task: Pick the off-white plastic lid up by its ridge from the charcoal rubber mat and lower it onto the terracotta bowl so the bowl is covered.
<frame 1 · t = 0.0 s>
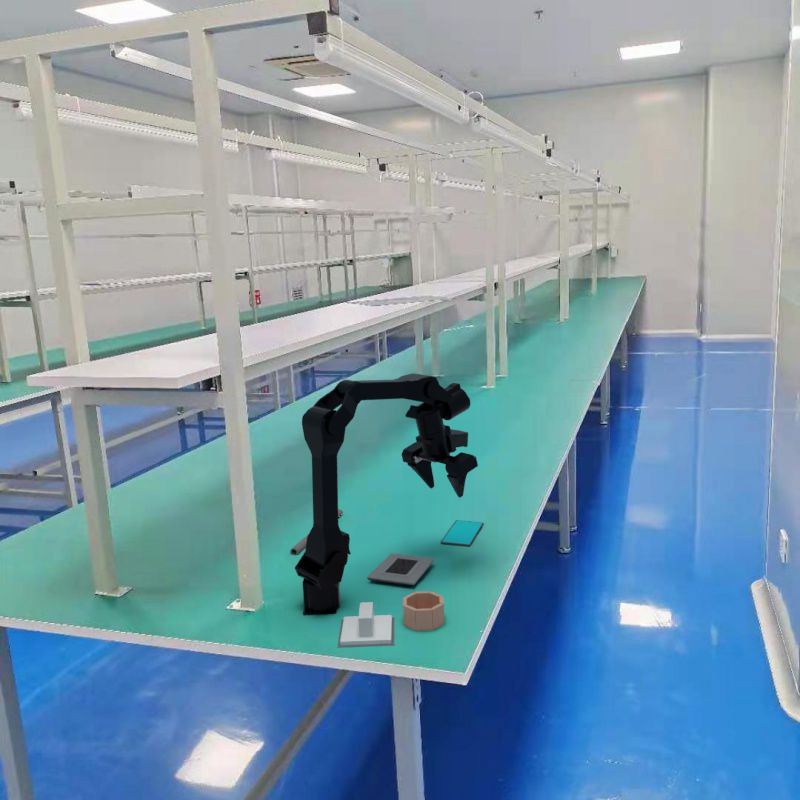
hand: (446, 492, 161), 15 cm above the table, tool pointing down, fingers open, 9 cm apart
electrical outlet: (402, 577, 156), on the table
lid: (367, 631, 132), resting on mat
metal rod: (318, 535, 182), on the table
bowl: (423, 623, 136), on the table
mat: (367, 633, 132), on the table
smartphone: (463, 536, 178), on the table
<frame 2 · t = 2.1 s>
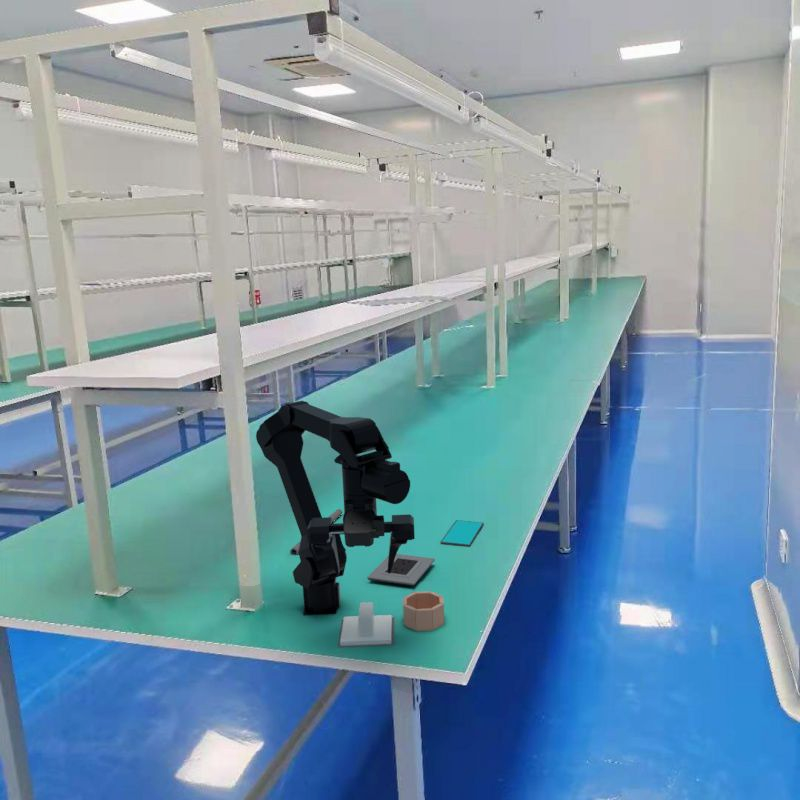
hand: (363, 573, 130), 12 cm above the table, tool pointing down, fingers open, 9 cm apart
nothing on the table moved.
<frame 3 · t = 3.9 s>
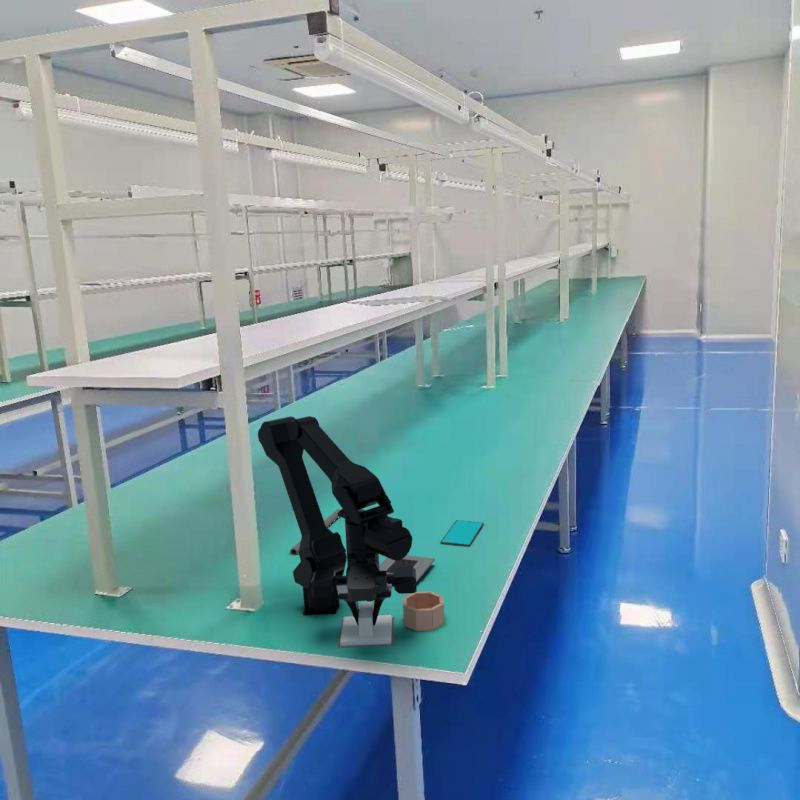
hand: (366, 624, 132), 2 cm above the table, tool pointing down, fingers closed on lid, 2 cm apart
lid: (367, 631, 132), resting on mat, touching gripper
everything else where it was.
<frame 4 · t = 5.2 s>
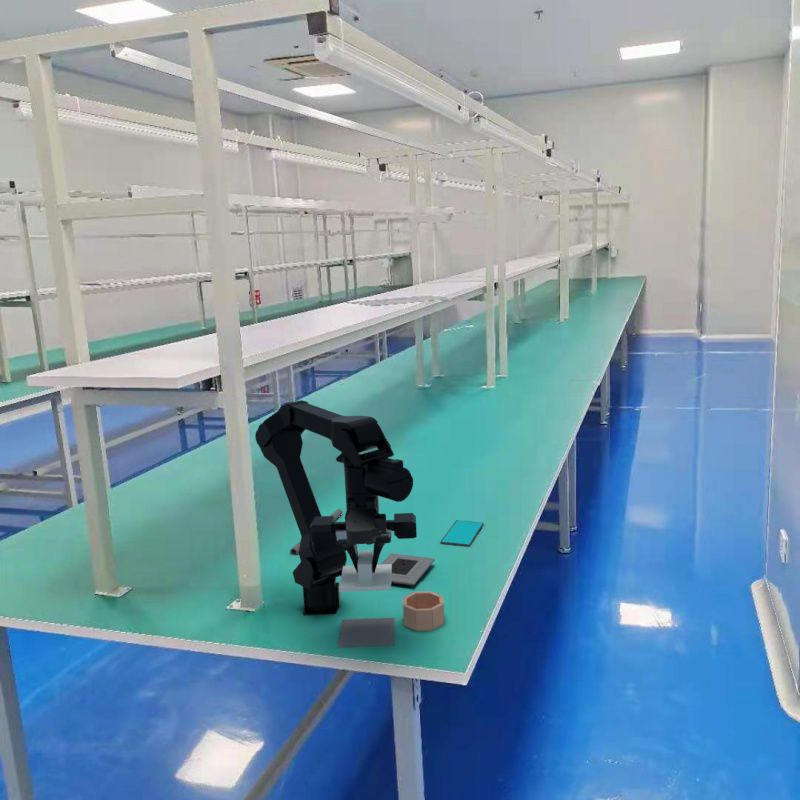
hand: (366, 572, 130), 12 cm above the table, tool pointing down, fingers closed on lid, 2 cm apart
lid: (366, 579, 130), point 11 cm above the table, touching gripper
everything else where it was.
when the fingers open (7 cm above the table, at t = 6.9 s): lid drops 1 cm, resting on bowl.
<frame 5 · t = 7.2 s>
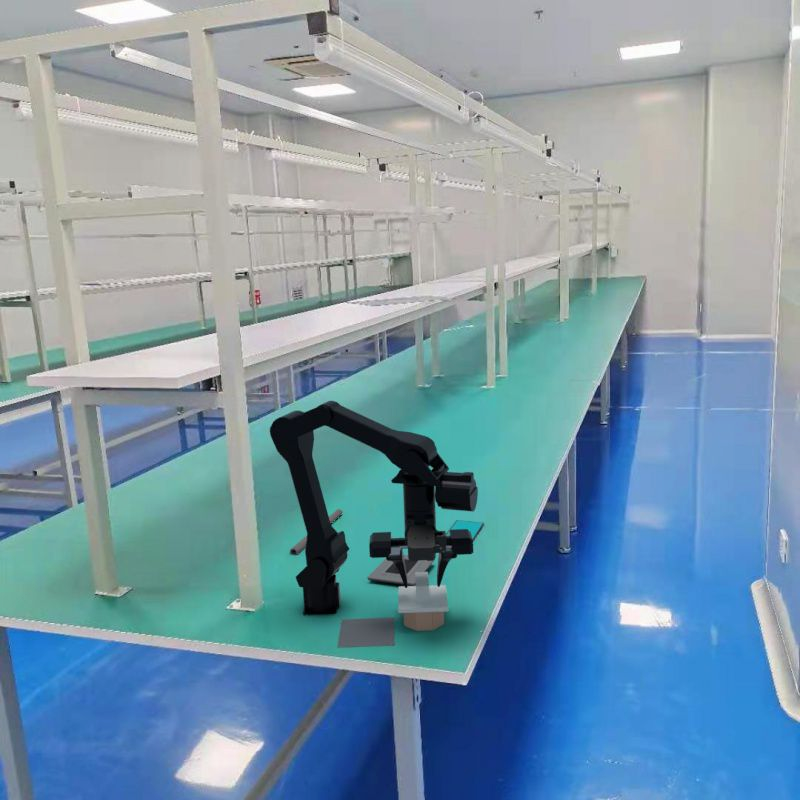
hand: (422, 586, 134), 7 cm above the table, tool pointing down, fingers open, 6 cm apart
lid: (422, 600, 135), point 4 cm above the table, touching bowl
bowl: (423, 622, 136), on the table, touching lid
everything else where it was.
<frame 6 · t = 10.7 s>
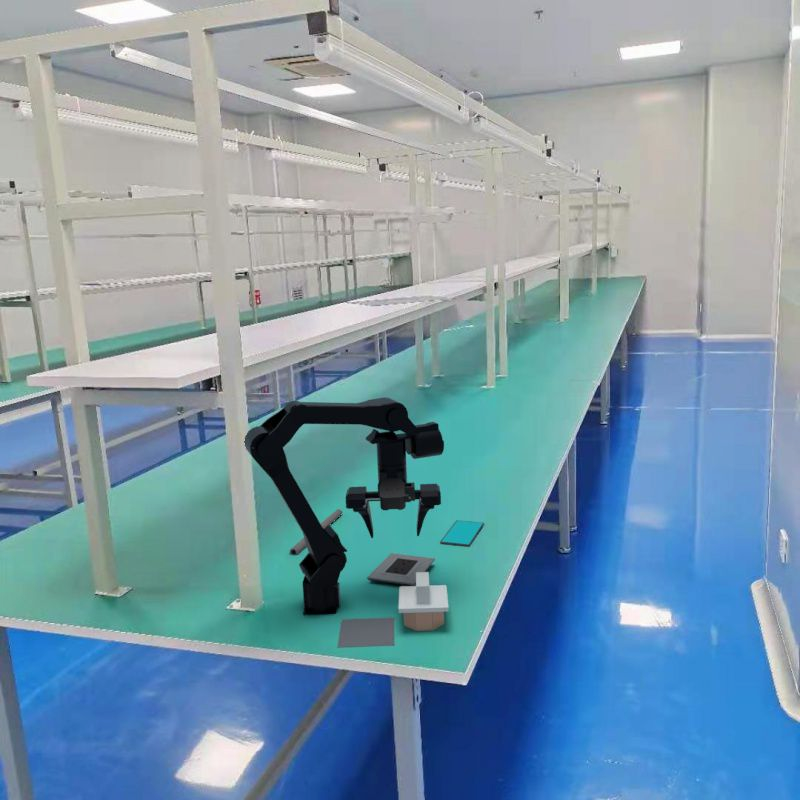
hand: (395, 536, 146), 12 cm above the table, tool pointing down, fingers open, 9 cm apart
nothing on the table moved.
at the end: lid 0.0 cm off-centre on the bowl, point 4.5 cm above the bowl's base; lid tilted 0°; the gripper is holding nothing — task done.
